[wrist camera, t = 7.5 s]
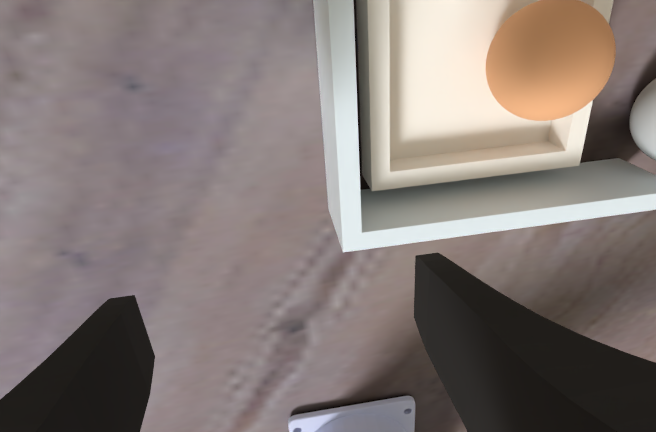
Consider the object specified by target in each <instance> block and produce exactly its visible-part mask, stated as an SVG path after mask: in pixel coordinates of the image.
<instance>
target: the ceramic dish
mask: <svg viewBox="0 0 656 432" xmlns="http://www.w3.org/2000/svg"><path fill="white" fill-rule="evenodd" d="M537 1H540V0H356V11H357V41H358V71H359V100H360V130H361V159H362V175H363V177H364V179H365V180H366V182H367V184H368V185H369V187H370V189H371V191H379V190H387V189H395V188H403V187H411V186H419V185H428V184H436V183H444V182H452V181H460V180H468V179H476V178H484V177H492V176H500V175H508V174H516V173H524V172H532V171H540V170H548V169H557V168H565V167H573V166H579V165H580V160H581V156H582V151H583V146H584V141H585V136H586V131H587V127H588V122H589V117H590V112H591V107H592V102H593V100H592V101H591V102H590V103H589V104H587V105H586V106H585V107H583V108H582V109H580V110H579V111H577V112H575V113H573V114H571V115H568V116H566V117H563V118H559V119H555V120H548V121H534V120H528V119H524V118H521V117H518V116H516V115H514V114H512V113H510V112H509V111H507V110H506V109H505V108H503V107H502V106H501V105H500V104H499V103H498V102H497V100H496V99H495V97H494V96H493V95H492V93H491V90H490V88H489V85H488V82H487V78H486V58H487V53H488V50H489V47H490V44H491V42H492V40H493V38H494V36H495V34H496V33H497V31H498V30H499V29H500V27H501V26H502V25H503V24H504V23H505V21H506V20H507V19H508V18H510V17H511V16H512V15H513V14H514V13H516V12H517V11H519V10H520V9H522V8H523V7H525V6H527V5H529V4H531V3H534V2H537ZM579 1H582V2H584V3H586V4H588V5H590V6H592V7H593V8H595V9H596V10H597V11H598V12H600V13H601V14H602V15H603V17H604V18H605V19H606V21H607V22H608V24H609V20H610V15H611V10H612V5H613V1H614V0H579Z"/></svg>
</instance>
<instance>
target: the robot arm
mask: <svg viewBox="0 0 656 432" xmlns="http://www.w3.org/2000/svg"><path fill="white" fill-rule="evenodd" d="M414 318H415V321H416V324H417V327H418V330H419V333H420V335H421V338H422V341H423V344H424V346H425V349H426V351H427V353H428V355H429V357H430V359H431V361H432V363H433V365H434V367H435V369H436V371H437V373H438V375H439V377H440V379H441V381H442V383H443V384H444V386H445V388H446V390H447V392H448V394H449V396H450V398H451V400H452V402H453V404H454V406H455V408H456V410H457V411H458V413H459V415H460V417H461V419H462V421H463V423H464V425H465V427H466V429H467V432H656V363H655V362H651V361H648V360H645V359H643V358H640V357H637V356H634V355H631V354H628V353H625V352H623V351H620V350H618V349H615V348H612V347H610V346H607V345H605V344H602V343H600V342H597V341H594V340H592V339H590V338H587V337H585V336H583V335H580V334H578V333H576V332H574V331H571V330H569V329H567V328H565V327H563V326H561V325H559V324H556V323H554V322H552V321H550V320H548V319H546V318H544V317H542V316H540V315H538V314H536V313H535V312H533V311H531V310H529V309H527V308H526V307H524V306H522V305H520V304H518V303H517V302H515V301H513V300H511V299H510V298H508V297H506V296H505V295H503V294H501V293H500V292H498V291H496V290H495V289H493V288H492V287H490V286H488V285H487V284H485V283H484V282H482V281H481V280H479V279H478V278H476V277H474V276H473V275H471V274H470V273H468V272H467V271H465V270H464V269H462V268H461V267H459V266H458V265H456V264H455V263H453V262H452V261H450V260H449V259H447V258H446V257H444V256H443V255H441V254H439V253H432V254H425V255H418V256H416V262H415V297H414ZM154 359H155V355H154V352H153V349H152V346H151V343H150V340H149V337H148V334H147V331H146V328H145V325H144V322H143V319H142V316H141V313H140V310H139V307H138V304H137V301H136V298H135V295H132V296H125V297H118V298H111V299H108V300H107V301H106V302H105V303H104V304H103V305H102V306H101V307H99V308H98V309H97V310H96V311H95V312H94V313H93V314H92V315H91V316H90V317H89V318H88V319H87V320H86V321H85V322H84V323H83V324H82V325H81V326H80V327H79V328H78V329H77V330H76V331H75V332H74V333H73V334H72V335H71V336H70V337H69V338H68V339H67V340H66V341H65V342H64V343H63V344H62V345H61V346H60V347H58V348H57V349H56V350H55V351H54V352H53V353H52V354H51V355H50V356H49V357H48V358H47V359H46V360H45V361H44V362H43V363H41V364H40V365H39V366H38V367H37V368H36V369H35V370H34V371H32V372H31V373H30V374H29V375H28V376H27V377H26V378H25V379H24V380H22V381H21V382H20V383H19V384H18V385H17V386H16V387H15V388H13V389H12V390H11V391H10V392H9V393H8V394H6V395H5V396H4V397H3V398H2V399H1V400H0V432H140V429H141V425H142V422H143V418H144V414H145V411H146V407H147V403H148V399H149V395H150V389H151V383H152V376H153V368H154ZM288 426H289V432H414V431H415V401H414V398H413V397H412V396H402V397H396V398H390V399H384V400H379V401H373V402H367V403H361V404H355V405H349V406H344V407H338V408H332V409H326V410H320V411H314V412H309V413H303V414H297V415H293V416H291V417H290V418H289V419H288Z"/></svg>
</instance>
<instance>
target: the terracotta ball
mask: <svg viewBox="0 0 656 432" xmlns="http://www.w3.org/2000/svg"><path fill="white" fill-rule="evenodd" d="M615 54H616V52H615V40H614V36H613V33H612V30H611V28H610V26H609V24H608V22H607V21H606V19H605V18H604V17H603V15H602V14H601V13H600V12H598V11H597V10H596V9H595V8H593V7H592V6H590V5H588V4H586V3H584V2H582V1H579V0H540V1H537V2H534V3H531V4H529V5H527V6H525V7H523V8H522V9H520V10H519V11H517V12H516V13H514V14H513V15H512V16H511V17H510V18H508V19H507V20H506V21H505V23H504V24H503V25H502V26H501V27H500V29H499V30H498V31H497V33H496V34H495V36H494V38H493V40H492V42H491V44H490V47H489V50H488V53H487V58H486V78H487V82H488V85H489V88H490V90H491V93H492V95H493V96H494V97H495V99H496V100H497V102H498V103H499V104H500V105H501V106H502V107H503V108H505V109H506V110H507V111H509V112H510V113H512V114H514V115H516V116H518V117H521V118H524V119H528V120H534V121H548V120H555V119H559V118H563V117H566V116H568V115H571V114H573V113H575V112H577V111H579V110H580V109H582V108H583V107H585V106H586V105H587V104H589V103H590V102H591V101H592V100H593V99H594V98H595V97H596V96H597V95H598V94H599V93H600V91H601V90H602V89H603V87H604V86H605V84H606V83H607V81H608V79H609V77H610V74H611V72H612V69H613V66H614V62H615Z"/></svg>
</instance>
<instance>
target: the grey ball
mask: <svg viewBox="0 0 656 432" xmlns="http://www.w3.org/2000/svg"><path fill="white" fill-rule="evenodd" d="M629 124H630V131H631V135H632V137H633V140H634V142H635V143H636V145H637V146H638V147H639V149H640V150H641V151H642V152H643V153H645V154H646V155H647V156H649V157H650V158H652V159H654V160H656V79H654V80H653V81H652V82H650V83H649V84H648V85H647V86H646V87H645V88H644V89H643V90H642V92H641V93H640V94H639V95H638V97H637V98H636V100H635V102H634V104H633V107H632V110H631V114H630V121H629Z"/></svg>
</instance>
